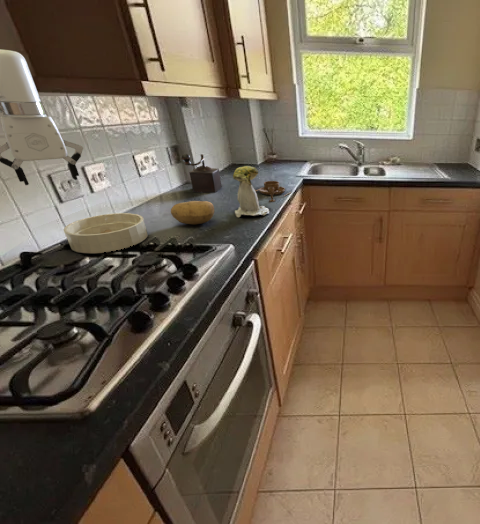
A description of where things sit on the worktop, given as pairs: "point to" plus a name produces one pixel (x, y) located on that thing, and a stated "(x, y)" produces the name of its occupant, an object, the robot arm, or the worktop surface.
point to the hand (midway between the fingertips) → (51, 181)
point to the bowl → (93, 241)
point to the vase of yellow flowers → (248, 192)
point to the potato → (193, 212)
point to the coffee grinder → (203, 176)
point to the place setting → (272, 189)
